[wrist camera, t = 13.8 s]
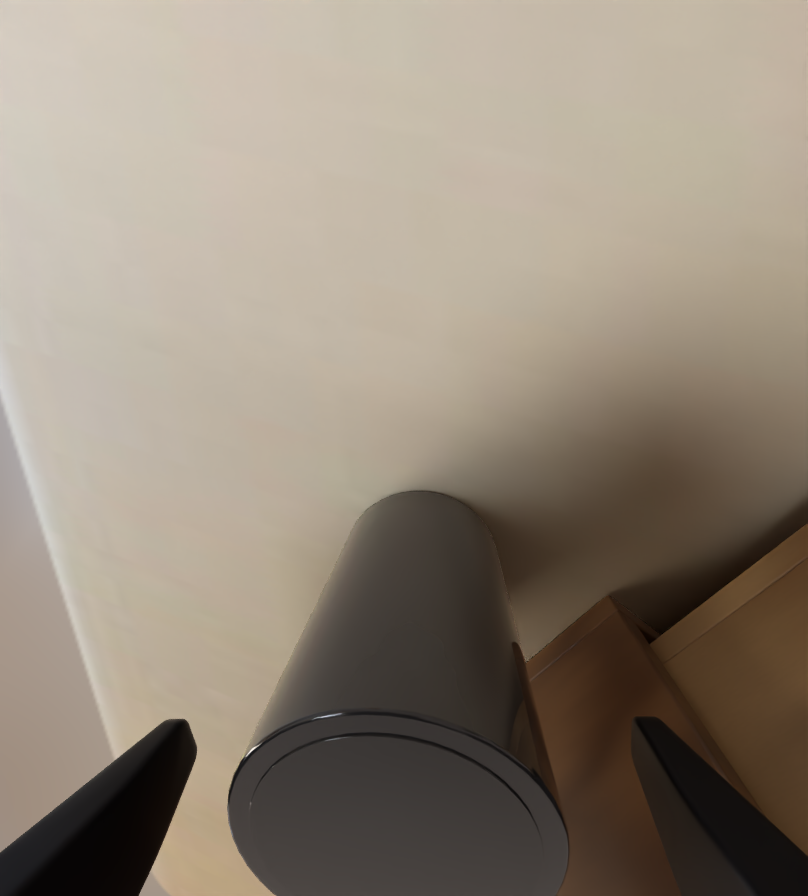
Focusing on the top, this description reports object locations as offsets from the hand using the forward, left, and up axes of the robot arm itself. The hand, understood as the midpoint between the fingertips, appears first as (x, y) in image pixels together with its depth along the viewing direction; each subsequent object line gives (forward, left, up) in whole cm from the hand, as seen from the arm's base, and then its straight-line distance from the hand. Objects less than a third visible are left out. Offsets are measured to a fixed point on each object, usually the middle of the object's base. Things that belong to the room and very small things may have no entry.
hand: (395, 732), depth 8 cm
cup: (0, 0, -6) cm, 6 cm away
